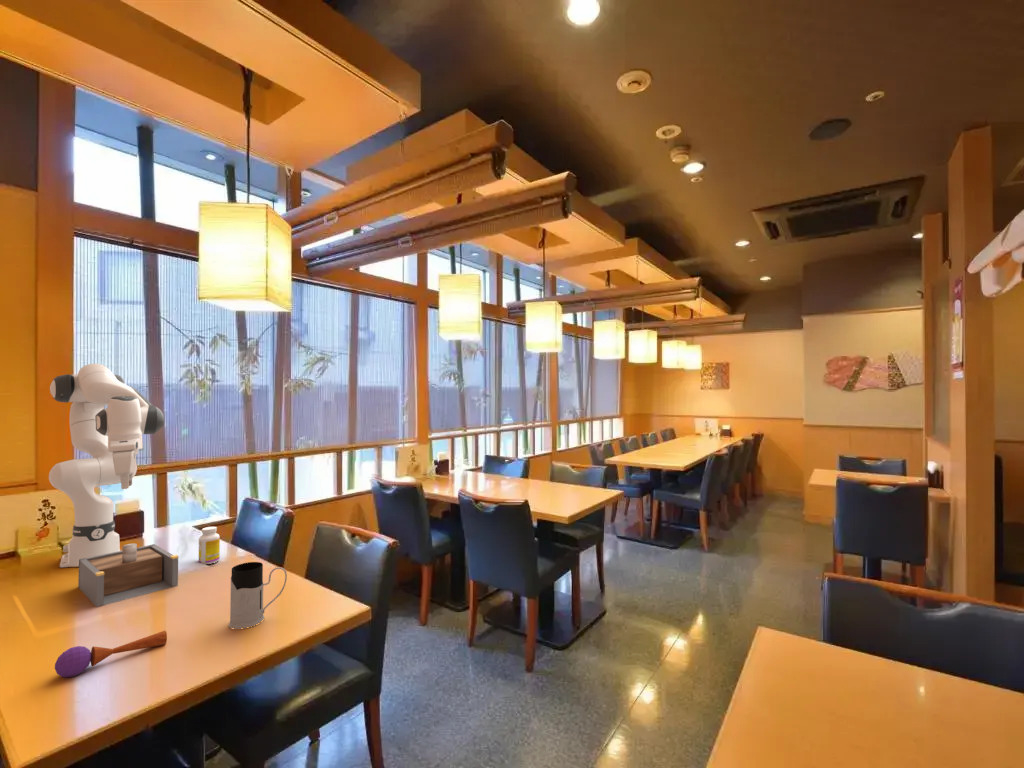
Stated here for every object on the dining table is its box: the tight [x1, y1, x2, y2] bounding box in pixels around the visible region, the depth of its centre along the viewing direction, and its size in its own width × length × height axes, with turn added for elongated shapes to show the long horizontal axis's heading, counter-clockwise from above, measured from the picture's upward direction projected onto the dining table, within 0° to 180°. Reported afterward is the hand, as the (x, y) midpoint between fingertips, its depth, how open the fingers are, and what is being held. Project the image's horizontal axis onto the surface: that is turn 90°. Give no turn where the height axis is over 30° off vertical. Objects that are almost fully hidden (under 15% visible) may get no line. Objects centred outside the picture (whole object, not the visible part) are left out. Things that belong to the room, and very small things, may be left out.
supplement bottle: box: [198, 526, 221, 565], centre depth 178 cm, size 7×7×13 cm
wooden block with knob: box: [89, 543, 162, 596], centre depth 155 cm, size 14×16×13 cm
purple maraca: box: [54, 630, 168, 678], centre depth 111 cm, size 6×6×20 cm
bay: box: [77, 544, 179, 608], centre depth 153 cm, size 24×20×11 cm
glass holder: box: [227, 561, 288, 630], centre depth 131 cm, size 9×14×15 cm, turn 111°
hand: (126, 487), depth 156 cm, fingers open, 8 cm apart
